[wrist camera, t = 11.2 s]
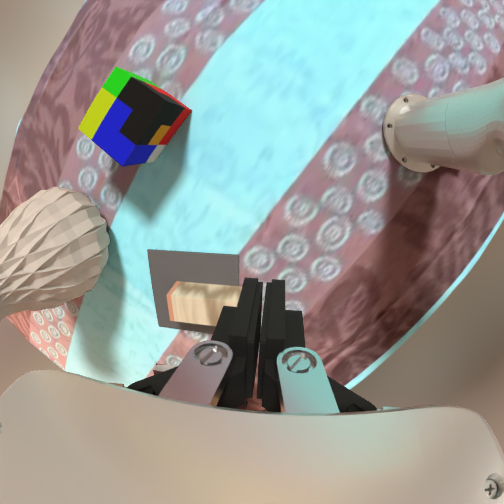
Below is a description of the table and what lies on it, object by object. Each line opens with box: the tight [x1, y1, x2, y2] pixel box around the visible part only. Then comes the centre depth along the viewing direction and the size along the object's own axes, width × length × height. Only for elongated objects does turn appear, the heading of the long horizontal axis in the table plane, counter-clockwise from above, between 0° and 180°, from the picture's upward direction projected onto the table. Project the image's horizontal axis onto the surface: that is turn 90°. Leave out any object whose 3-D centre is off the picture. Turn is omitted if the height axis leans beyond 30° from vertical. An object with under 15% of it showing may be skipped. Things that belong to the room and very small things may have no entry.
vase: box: [0, 187, 110, 321], centre depth 32 cm, size 20×20×30 cm
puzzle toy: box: [78, 67, 192, 167], centre depth 33 cm, size 10×10×10 cm
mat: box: [147, 249, 239, 333], centre depth 48 cm, size 16×16×1 cm
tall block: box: [166, 281, 242, 326], centre depth 45 cm, size 5×5×12 cm
